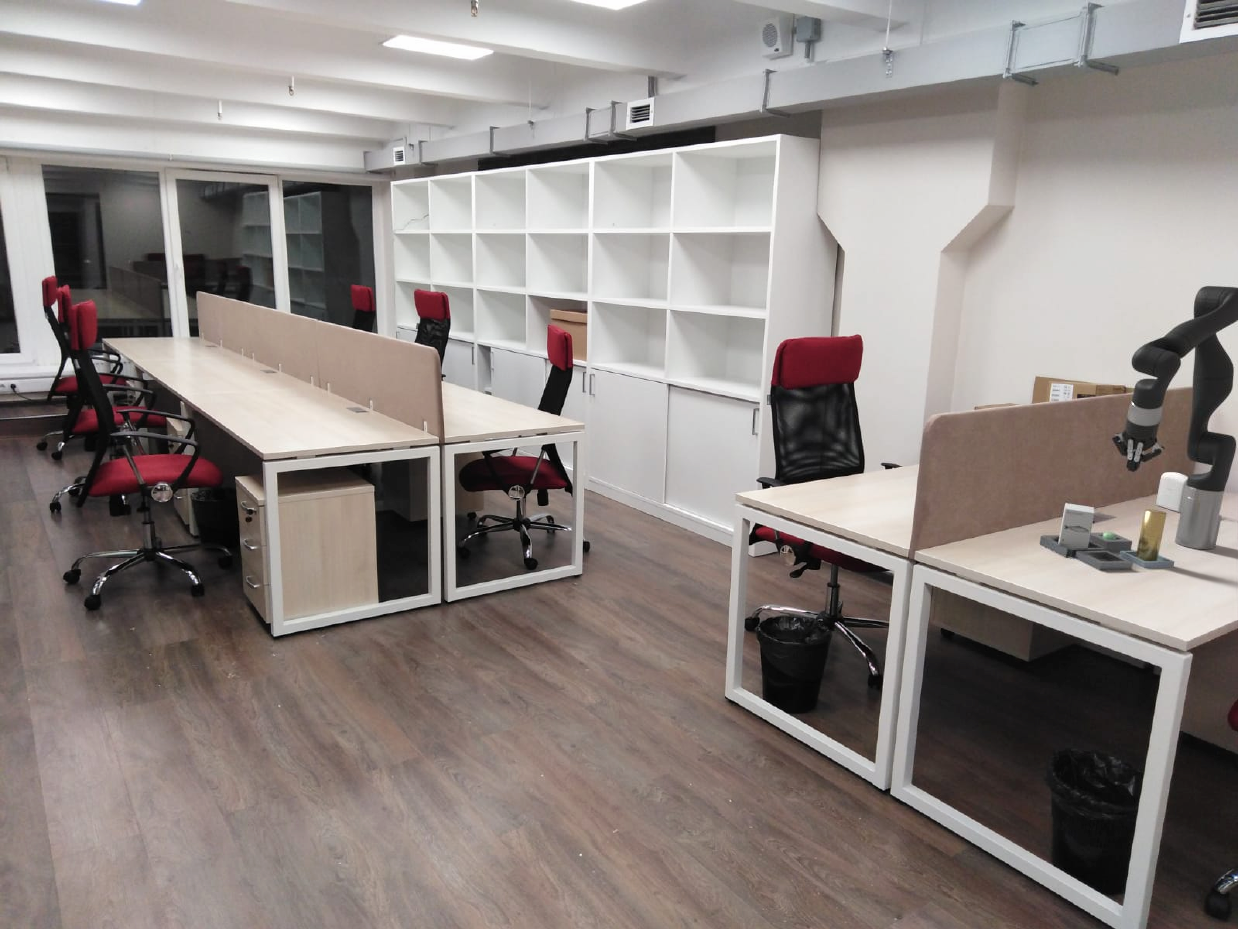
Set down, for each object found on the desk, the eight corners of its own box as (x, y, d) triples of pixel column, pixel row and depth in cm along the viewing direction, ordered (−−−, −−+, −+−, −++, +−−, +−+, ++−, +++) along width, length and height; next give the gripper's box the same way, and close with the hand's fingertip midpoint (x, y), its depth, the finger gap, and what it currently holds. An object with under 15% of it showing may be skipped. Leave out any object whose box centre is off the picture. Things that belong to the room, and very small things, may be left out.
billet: (1146, 558, 237) (1156, 509, 233) (1161, 564, 232) (1171, 514, 229) (1130, 558, 236) (1140, 509, 233) (1144, 564, 231) (1154, 514, 228)
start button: (1109, 541, 247) (1111, 531, 246) (1117, 545, 243) (1119, 535, 243) (1098, 542, 246) (1100, 532, 245) (1107, 546, 243) (1109, 535, 242)
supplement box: (1057, 551, 240) (1064, 508, 237) (1057, 544, 247) (1064, 502, 244) (1086, 557, 237) (1094, 512, 234) (1086, 549, 244) (1094, 506, 241)
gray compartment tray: (1076, 543, 249) (1078, 534, 248) (1135, 571, 227) (1137, 562, 227) (1038, 543, 247) (1039, 535, 246) (1094, 572, 225) (1095, 563, 224)
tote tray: (1147, 557, 239) (1148, 550, 239) (1173, 568, 230) (1174, 561, 230) (1118, 557, 237) (1120, 551, 237) (1143, 569, 229) (1144, 562, 228)
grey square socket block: (1109, 543, 250) (1111, 532, 249) (1130, 553, 242) (1132, 541, 241) (1085, 544, 248) (1087, 532, 247) (1104, 553, 241) (1107, 541, 240)
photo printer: (1153, 504, 296) (1160, 469, 293) (1163, 504, 297) (1170, 469, 294) (1178, 513, 286) (1185, 477, 283) (1189, 513, 287) (1196, 477, 284)
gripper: (1177, 418, 226) (1163, 471, 236) (1123, 403, 235) (1113, 455, 244) (1165, 431, 222) (1152, 485, 232) (1111, 415, 231) (1100, 468, 241)
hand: (1132, 469), depth 238 cm, fingers closed
